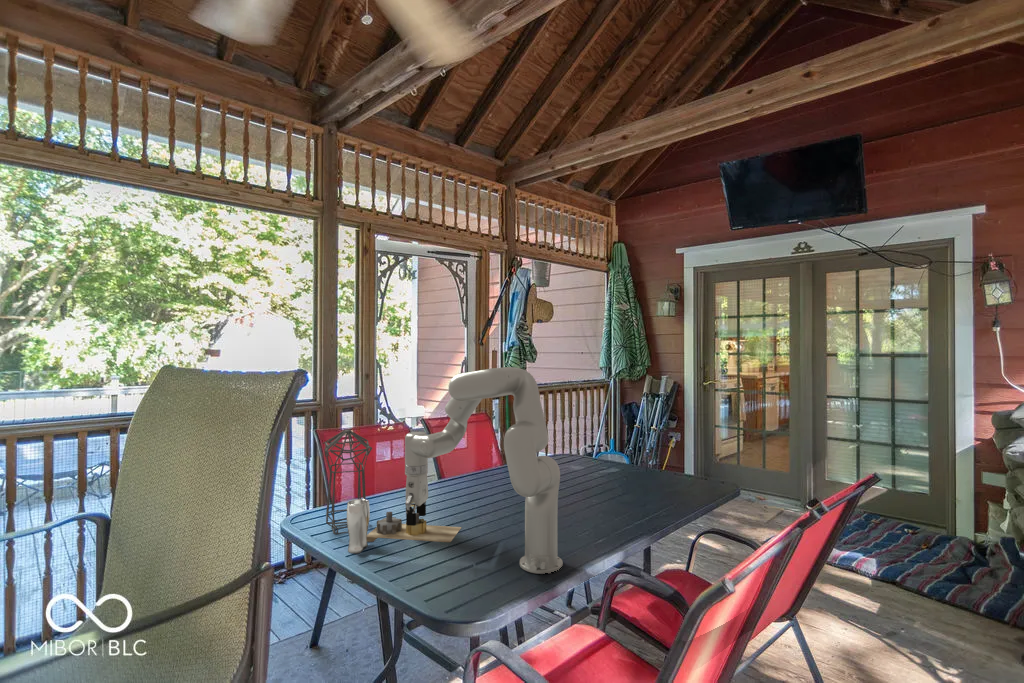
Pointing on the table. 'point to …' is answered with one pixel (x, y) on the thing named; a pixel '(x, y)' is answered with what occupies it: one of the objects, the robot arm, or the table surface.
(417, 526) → the brass gear
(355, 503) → the beer glass
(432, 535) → the gear board
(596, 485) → the table surface
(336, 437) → the geometric lantern
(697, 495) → the table surface
